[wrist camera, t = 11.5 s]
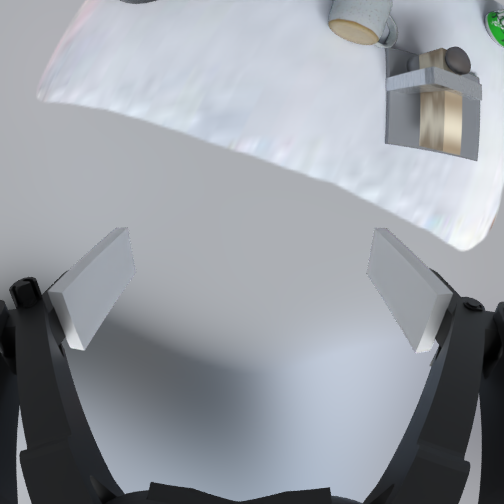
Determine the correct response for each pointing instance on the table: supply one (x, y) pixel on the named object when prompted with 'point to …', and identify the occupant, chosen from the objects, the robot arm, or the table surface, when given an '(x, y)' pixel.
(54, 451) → the robot arm
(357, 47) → the table surface
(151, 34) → the table surface
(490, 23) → the soda can
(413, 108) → the board
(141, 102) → the table surface
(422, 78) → the block
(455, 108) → the lever link
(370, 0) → the ceramic mug
